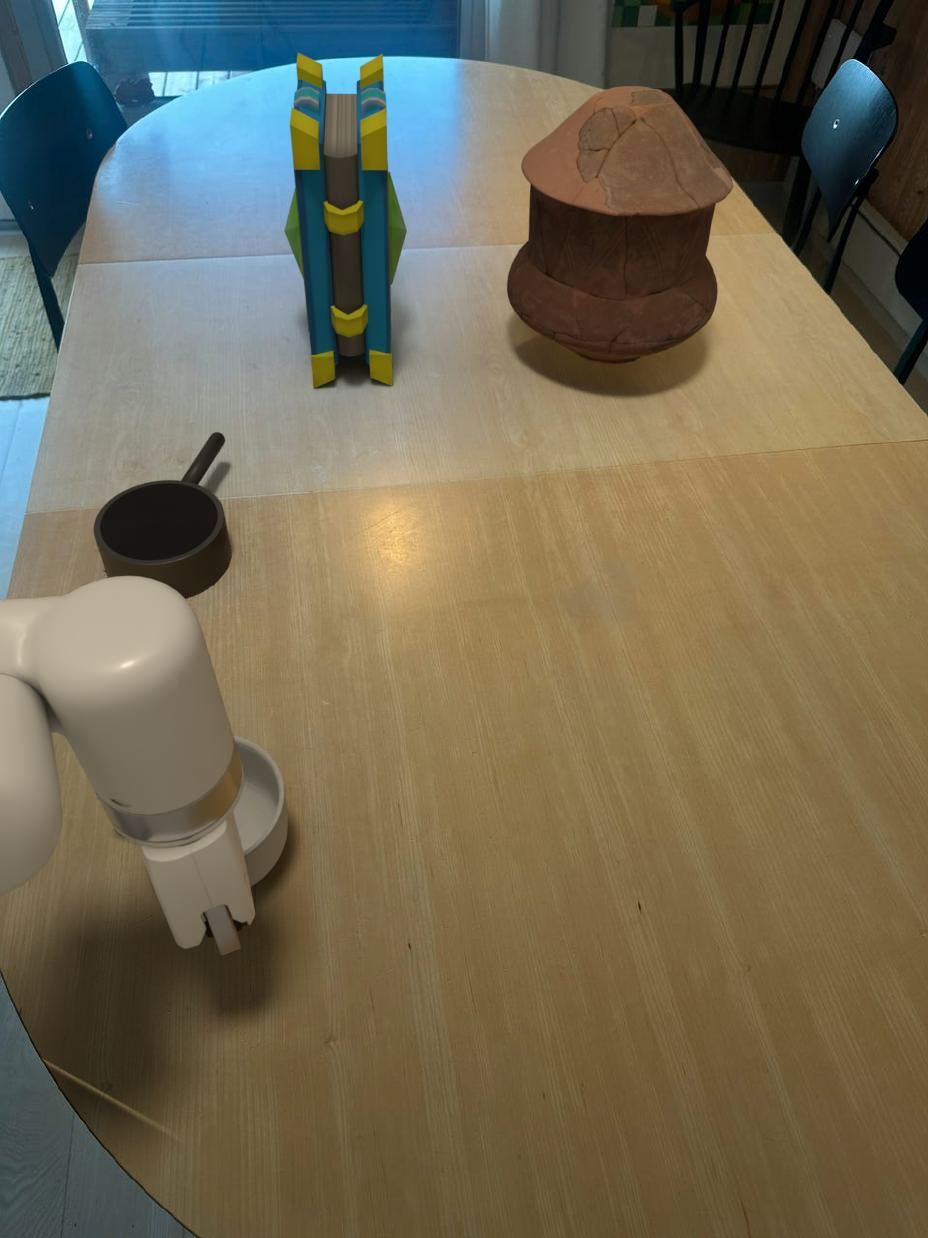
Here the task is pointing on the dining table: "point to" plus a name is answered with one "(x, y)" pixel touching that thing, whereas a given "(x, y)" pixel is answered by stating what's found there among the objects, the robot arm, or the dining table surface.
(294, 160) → the decorative book
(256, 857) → the teacup
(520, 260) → the pottery vessel
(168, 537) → the milk pan
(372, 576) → the dining table surface
